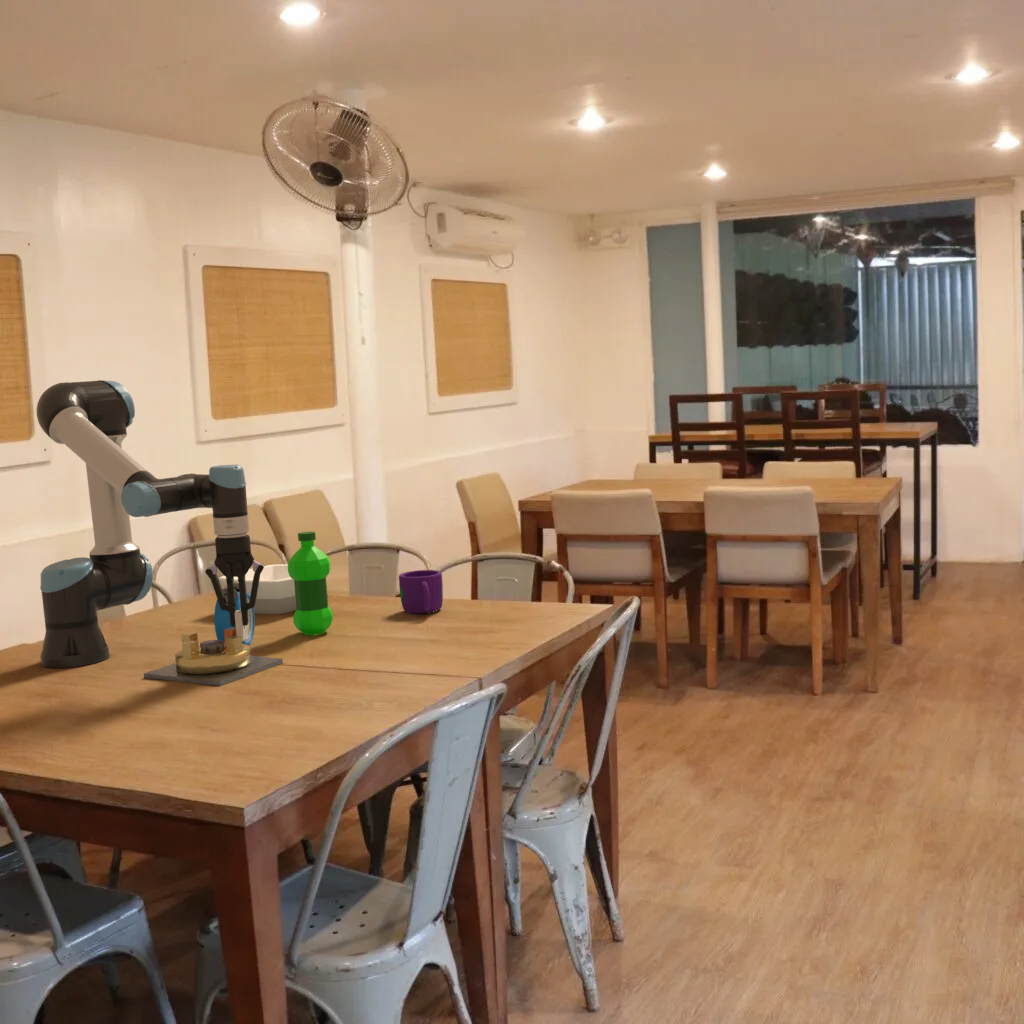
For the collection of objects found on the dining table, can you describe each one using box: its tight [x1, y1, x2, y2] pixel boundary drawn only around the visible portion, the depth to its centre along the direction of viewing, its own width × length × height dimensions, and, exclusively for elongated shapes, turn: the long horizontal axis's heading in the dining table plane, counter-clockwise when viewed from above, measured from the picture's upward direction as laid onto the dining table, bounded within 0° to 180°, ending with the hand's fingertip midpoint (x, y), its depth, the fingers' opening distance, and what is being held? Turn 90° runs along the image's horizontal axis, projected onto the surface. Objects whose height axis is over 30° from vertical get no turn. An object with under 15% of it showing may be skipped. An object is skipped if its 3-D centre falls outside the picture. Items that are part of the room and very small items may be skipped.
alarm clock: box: [213, 582, 256, 647], centre depth 290 cm, size 13×6×15 cm, turn 176°
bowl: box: [218, 563, 331, 615], centre depth 336 cm, size 24×25×10 cm
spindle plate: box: [143, 655, 284, 687], centre depth 269 cm, size 22×20×1 cm
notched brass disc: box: [174, 628, 252, 674], centre depth 268 cm, size 16×16×6 cm
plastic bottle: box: [287, 531, 334, 636], centre depth 300 cm, size 10×10×25 cm
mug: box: [398, 569, 444, 615], centre depth 319 cm, size 17×11×10 cm, turn 12°
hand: (241, 639), depth 272 cm, fingers closed
